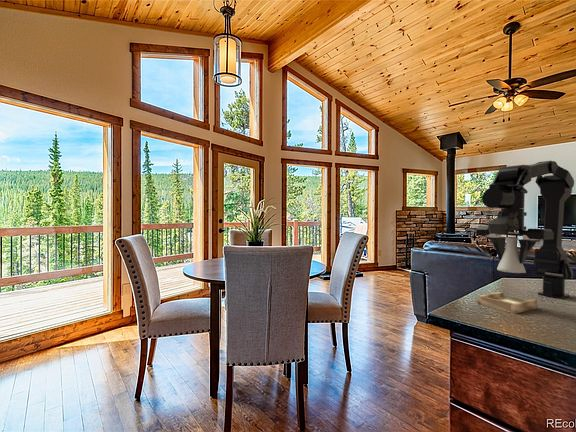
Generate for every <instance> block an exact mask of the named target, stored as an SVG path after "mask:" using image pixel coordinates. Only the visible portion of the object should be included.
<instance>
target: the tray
mask: <svg viewBox="0 0 576 432" xmlns="http://www.w3.org/2000/svg"><path fill="white" fill-rule="evenodd" d="M477 305H481V306H484V307H488V308H492V309H496V310H498V311H499V310H500V311H504V312H508V313H511V314H518V313H523V312H527V311H531V310H535V309H538V299H535V298H532V299H525V298H521V297H517V296H512V295H507V294H504V292H503V291H497V292H491V293H486V294H481V295H477Z"/></svg>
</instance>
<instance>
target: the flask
mask: <svg viewBox="0 0 576 432" xmlns="http://www.w3.org/2000/svg"><path fill="white" fill-rule="evenodd" d="M504 237H505V236H504ZM505 239H506V241H505V251H504V254H503V256H502V259H501V261H500V260H499V263H498V266H497V268H496V270H497V271H499V272H504V273H513V274H522V273H523V274H526V273H527V271H526V268H525V266H524V263H522V264H521V263H520V260H519V257H520V251H519V249H518V239H519V237H517V236H509V237H508V236H507V237H505Z"/></svg>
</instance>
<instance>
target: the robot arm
mask: <svg viewBox="0 0 576 432" xmlns="http://www.w3.org/2000/svg"><path fill="white" fill-rule="evenodd" d="M551 174H552V175H551ZM533 178H536V179H535V183H536V185H537V186H538V188H539V191H540V192H539V193H540V195H541V196H542V199H543V200H545V207H544V223H543V228H528V229H527V226H525V217H527V216H528V215H527V213H528V212H525V194H528V192H529V191H528V190H527V189H526V188H525V187H524V186H525V185H527V184H528V183H530V182H531V181H532V179H533ZM574 185H575V179H574V177H573V175H572V174H571V172H570V171H569V170H567V169H565V168H564V167H561V166H559V165H558V163H557V162H556V161H555V160H546V161H538V162H535V163H531V164H517V165H509V166H508V165H507V166H501V167H499V169H498V171H497V172H496V175H495V177H494V178H493V181H492V183H490V184H489V186H488V188H487V189H486V190H485V191H484V192H483V194H482V196H481V200H482V201H481V202H482V204H483V205H484V206H485V207H486V208H490V209H500V211H498V212H497V216H496V218H494V219H492V220H490V221H488V222H487V225H486V226H485V225H483V226H481V225H479V226H477V228H475V236H481V237H482V236H483V237H484V236H485V239H486V240H489V241H490V242H491V243H492V245H493V247H494V249H495V252H496V255H497V257H498V260H499V262H500V261H501V259H502V256H503V254H504V251H505V248H506V239H505V236H510V237H522V238H521V239H520V238H518V240H517V242H518V243H519V255H520V257H519V260H520V263H521V264H522V263H523V264H524V263H525V261H526V259H527V257H528V255H529V253H530V252H531V250H532V249H533V248H534V246H535V245H536V244H537V242H538V243H539V242H540V243H541V241H542V245H541V246H540V247H539V249H536V250H535V251H534V254H535V255H534V260H533V266H534V272H535V276H542V291H537V295H541V296H545V297H552V298H557V299H563V298H568V297H571V295H570V294H569V293H566V280H573V278H574V270H573V268H572V267H571V264H570V263H569V262H570V261H568V254H567V252H566V251H565V249H564V248H563V247H562V246H563V245H562V242H563V229H564V226H563V225H564V215H565V214H564V213H565V212H564V211H565V203H566V201H567V200H568V199H569V197H570V196H571V195H572V192H573V188H574Z"/></svg>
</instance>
